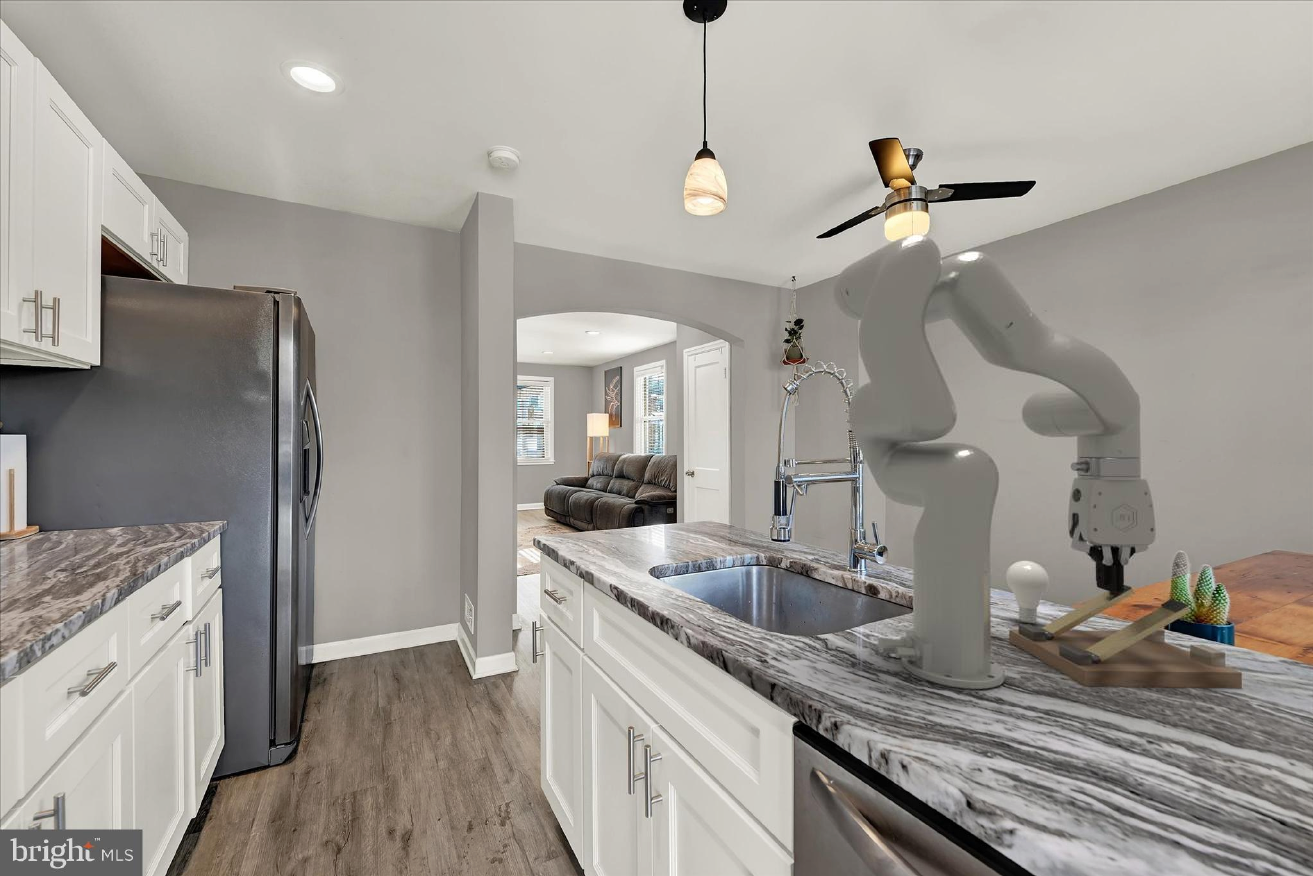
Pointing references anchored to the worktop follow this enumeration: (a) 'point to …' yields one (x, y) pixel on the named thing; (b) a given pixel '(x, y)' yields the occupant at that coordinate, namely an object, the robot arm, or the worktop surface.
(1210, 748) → the worktop surface
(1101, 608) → the back bar
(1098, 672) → the board
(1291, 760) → the worktop surface
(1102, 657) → the front bar
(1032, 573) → the lightbulb
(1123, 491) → the robot arm
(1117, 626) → the worktop surface
